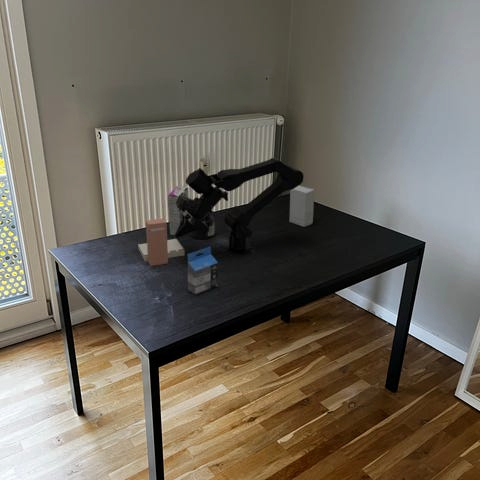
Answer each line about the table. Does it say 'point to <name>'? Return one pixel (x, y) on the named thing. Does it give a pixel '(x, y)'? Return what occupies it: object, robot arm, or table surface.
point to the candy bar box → (175, 208)
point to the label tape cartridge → (202, 271)
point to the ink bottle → (210, 223)
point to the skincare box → (301, 206)
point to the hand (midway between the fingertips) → (175, 236)
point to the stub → (157, 241)
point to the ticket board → (173, 249)
